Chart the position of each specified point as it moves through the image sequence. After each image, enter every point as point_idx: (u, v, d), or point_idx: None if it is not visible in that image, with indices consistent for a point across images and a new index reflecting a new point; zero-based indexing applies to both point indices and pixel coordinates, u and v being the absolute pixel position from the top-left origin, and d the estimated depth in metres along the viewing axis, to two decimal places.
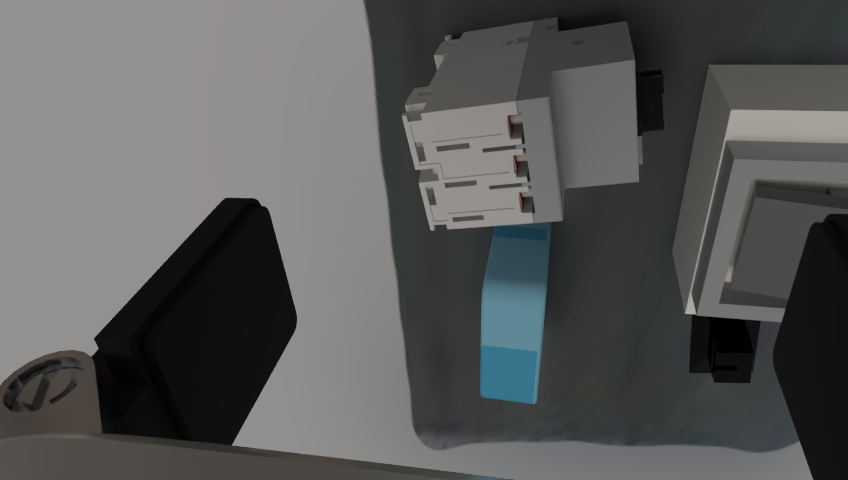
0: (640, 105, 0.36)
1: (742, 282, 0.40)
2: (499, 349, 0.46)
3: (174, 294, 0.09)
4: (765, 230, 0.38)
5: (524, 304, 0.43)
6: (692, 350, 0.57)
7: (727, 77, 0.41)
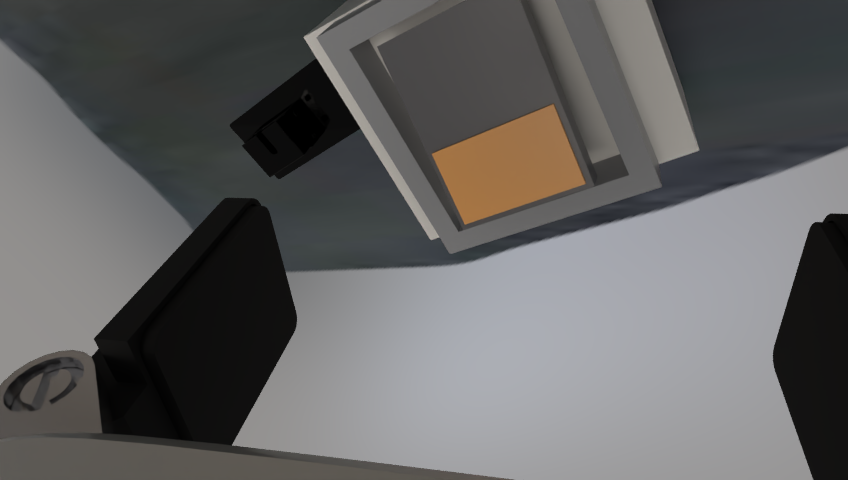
0: None
1: (393, 52, 0.29)
2: None
3: (174, 294, 0.09)
4: (474, 22, 0.27)
5: None
6: (256, 108, 0.45)
7: None
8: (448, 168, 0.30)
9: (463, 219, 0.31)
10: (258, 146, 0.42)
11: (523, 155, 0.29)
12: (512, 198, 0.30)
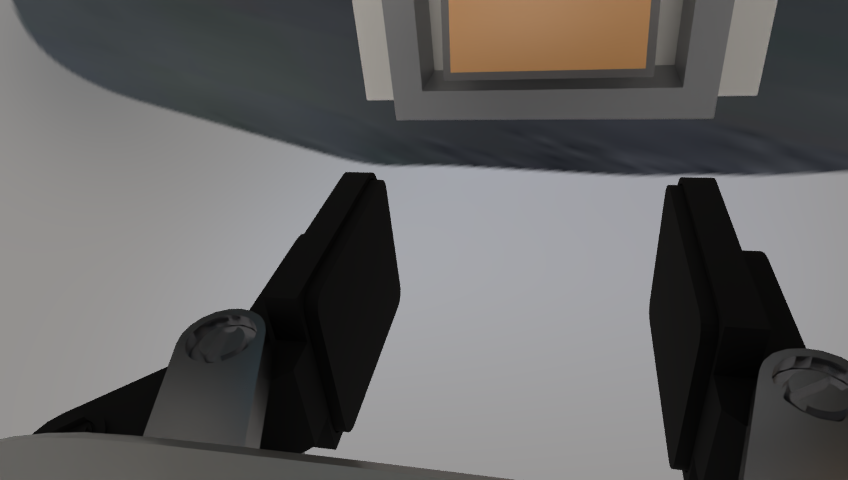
0: None
1: None
2: None
3: (324, 258, 0.09)
4: None
5: None
6: None
7: None
8: None
9: (451, 64, 0.21)
10: None
11: None
12: (535, 55, 0.20)
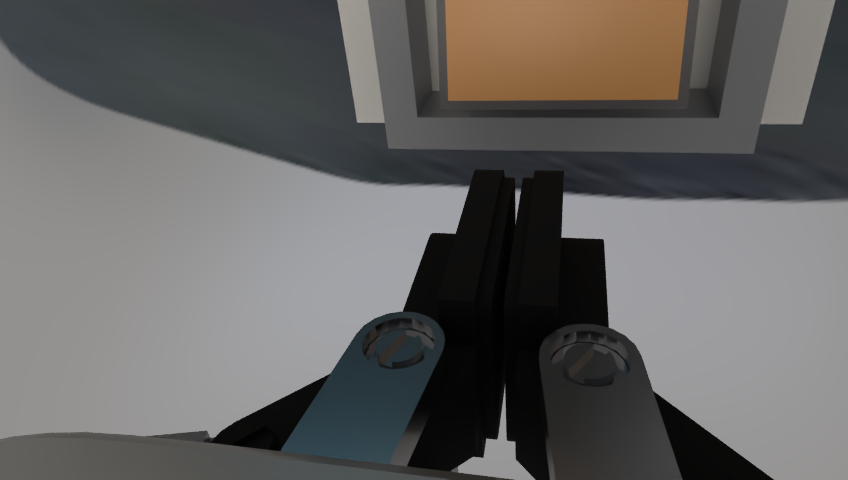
0: None
1: None
2: None
3: (484, 258, 0.09)
4: None
5: None
6: None
7: None
8: None
9: (449, 91, 0.18)
10: None
11: (600, 13, 0.16)
12: (547, 82, 0.17)
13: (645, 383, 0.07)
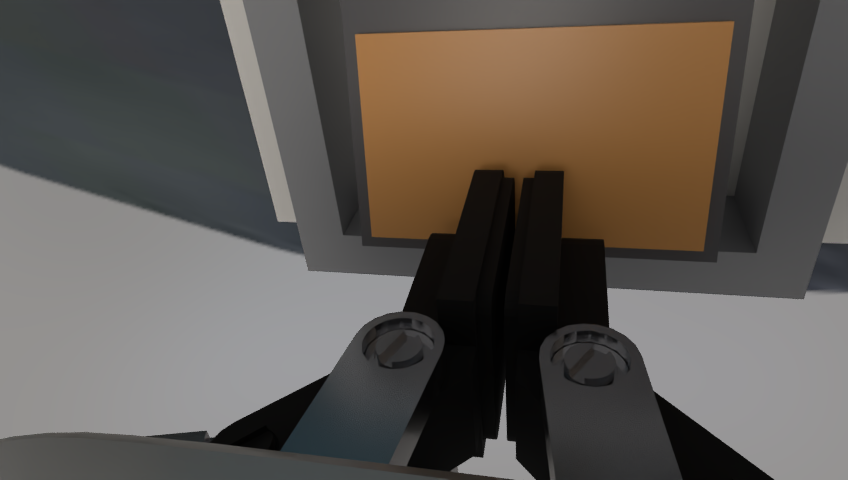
0: None
1: None
2: None
3: (484, 258, 0.09)
4: None
5: None
6: None
7: None
8: (384, 88, 0.12)
9: (373, 224, 0.13)
10: None
11: (588, 127, 0.11)
12: None
13: (646, 383, 0.07)
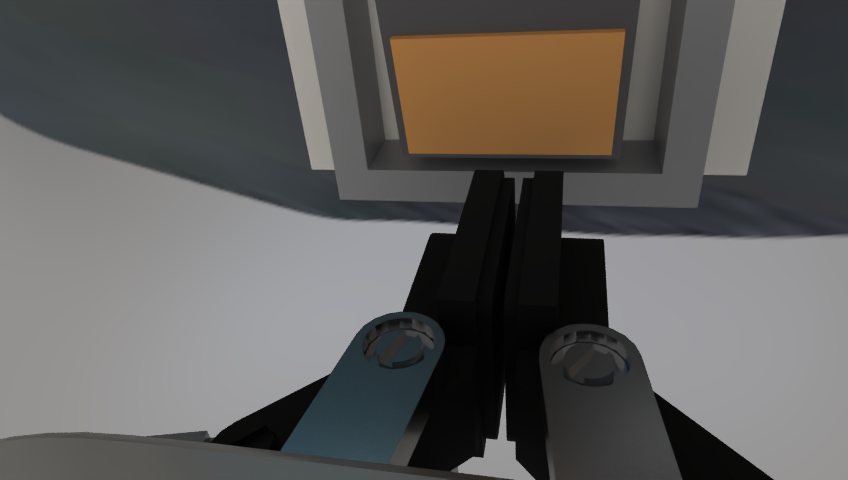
0: None
1: None
2: None
3: (484, 258, 0.09)
4: None
5: None
6: None
7: None
8: (411, 70, 0.18)
9: (409, 146, 0.20)
10: None
11: (540, 90, 0.18)
12: (496, 141, 0.19)
13: (645, 383, 0.07)
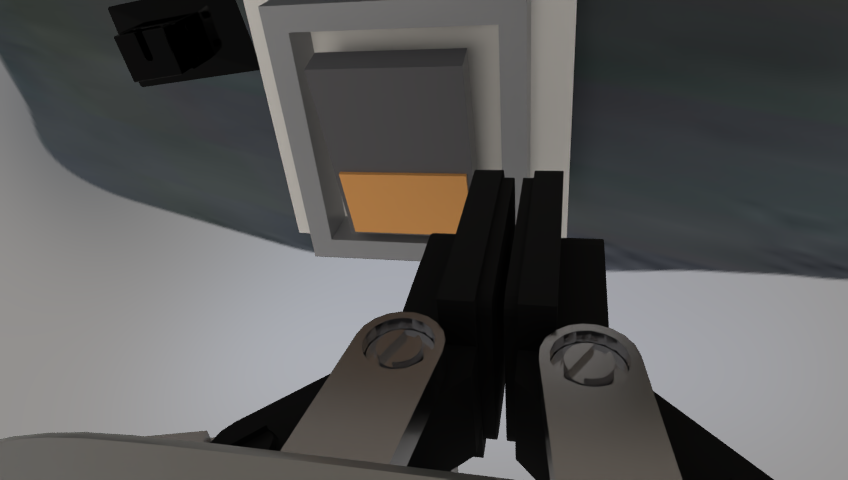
0: None
1: (321, 81, 0.27)
2: None
3: (484, 258, 0.09)
4: (414, 88, 0.27)
5: None
6: (143, 1, 0.40)
7: None
8: (352, 189, 0.31)
9: (355, 227, 0.33)
10: (132, 45, 0.38)
11: (425, 202, 0.31)
12: (405, 226, 0.32)
13: (645, 383, 0.07)
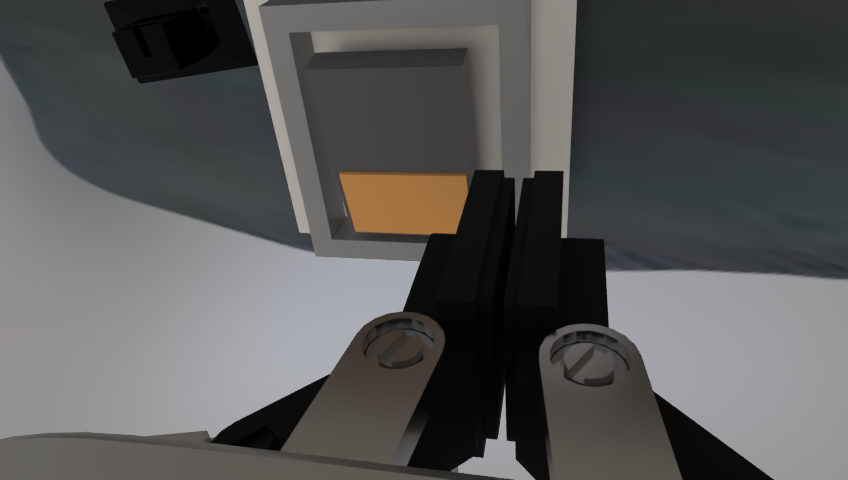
0: None
1: (321, 81, 0.27)
2: None
3: (484, 258, 0.09)
4: (414, 88, 0.27)
5: None
6: None
7: None
8: (352, 189, 0.31)
9: (355, 227, 0.33)
10: (131, 41, 0.37)
11: (426, 202, 0.31)
12: (405, 226, 0.33)
13: (645, 383, 0.07)
